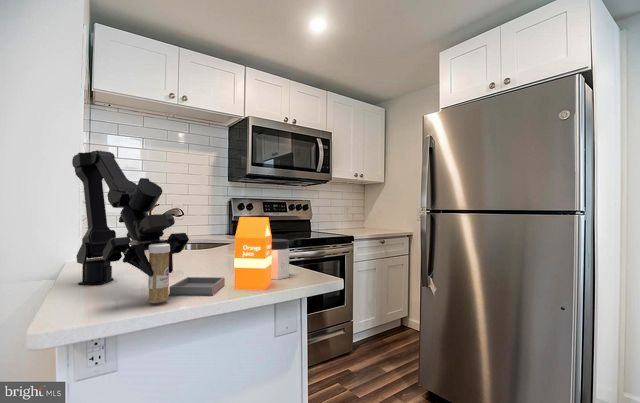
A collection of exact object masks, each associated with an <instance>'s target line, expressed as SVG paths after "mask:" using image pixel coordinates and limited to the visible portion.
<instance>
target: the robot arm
mask: <svg viewBox="0 0 640 403" xmlns="http://www.w3.org/2000/svg"><path fill="white" fill-rule="evenodd" d="M71 162H72V163H71V164H72V165H71V166H72V167H73V168H74V173H75V176H76V177H77V178H78V179H79V180H80V181H81V182H82V184H83V185H82V186H83V193H84V195H83V196H84V204H85V212H86V220H87V221H86V222H87V230H86V232H85V234H84V236H82V243H81V245H80V248H79V250H78V251H77V253H76V263H77V264H81V265H82V269H81V270H82V272H81V273H82V275H81V277H82V279H81V281H79V282H78V283H77V285H82V286H83V285H84V286H85V285H89V286H90V285H91V286H92V285H95V286H97V285H99V286H100V285H103V284H106V283H108V282H111V281H114V279H115V278H114V277H113V275H112V274H113V266H112V264H111V263H113V262H118V261H120V260H121V259H122V263H124V264H125V263H126V264H129V265H131V266H133V267H135V268H137V269H138V270H140V271H141V272H143V273H144V274H146V276H148V277H149V276H150V277H152V276H153V274H154V273H153V270H152V267H151V265H150V263H149V259H148V257H147V255H146V252H145V251H149V245H151V244H159V243H164V244H170V252H169V274H172V273H173V271H174V267H173V266H174V264H173V263H174V262H173V255H175V254H179V253H181V252H182V251H183V249H184V248H185V247H186V245H187V244H188V242H190V238H189V236H188V234H187V233H186V232H175V233H174V232H173V233H170V235H168V238H167V239H164V238H162V239H160V238H161V237H163V236H164V234H165V233H164V231H165V230H166V229H169V228H170V227H172V226H173V225H175V217H174V216H173V214H172V213H171V212H166V213H164V214H163V213H161V214H160V213H159V214H157V213H155V214H149V213H148V212H151V211H153V209H154V207H155V206H156V204H157V203H158V201H159V200H160V197H161V196H162V195H163V188H162V187H161V186H160V185H158V184H157V183H155V182H153V181H150V178H148V177H147V178H146V177H145V178H144V177H141V178H139V181H138V183H136V182H134V181H132V180H130V179H129V178H127V176H126V175H125V173H124V172H123V170H122V169H121V167H120V165H119V164H118V162H117V160H116V158H115V154H114V153H113V152H111V151H103V150H93V151H90V152H78V153H77V154H74V156H73V157H72V160H71ZM103 180H104V181H105V184H106V185H107V187H108V189H109V190H108V193H107V201H108V203H109V204H110V206H111V207H112V208H114V209H121V211H120V216H119V218H118V222H119V223H121V224H122V223H123V224H124V226H125V228H126V230H127V233H126V236H122V237H117V234H116V231H115V230H114V229H111V228H110V227H109V226H108V221H107V220H108V219H107V211H106V201H105V195H104V187H103ZM122 254H123V255H122ZM123 256H124V257H123ZM122 257H123V258H122Z"/></svg>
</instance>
